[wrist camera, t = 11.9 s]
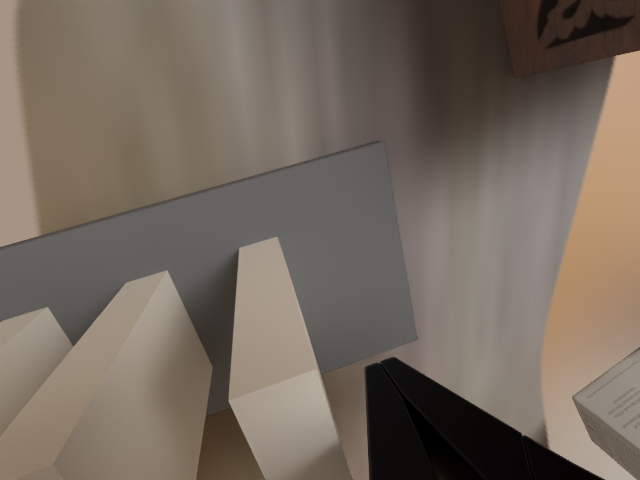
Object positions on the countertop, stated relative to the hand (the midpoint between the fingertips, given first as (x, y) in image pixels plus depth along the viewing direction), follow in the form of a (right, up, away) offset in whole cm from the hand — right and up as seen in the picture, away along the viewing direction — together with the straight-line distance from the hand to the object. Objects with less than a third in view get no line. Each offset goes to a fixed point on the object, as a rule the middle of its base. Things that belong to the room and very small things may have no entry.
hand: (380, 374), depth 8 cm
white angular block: (-3, +1, +5) cm, 7 cm away
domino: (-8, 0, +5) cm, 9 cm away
